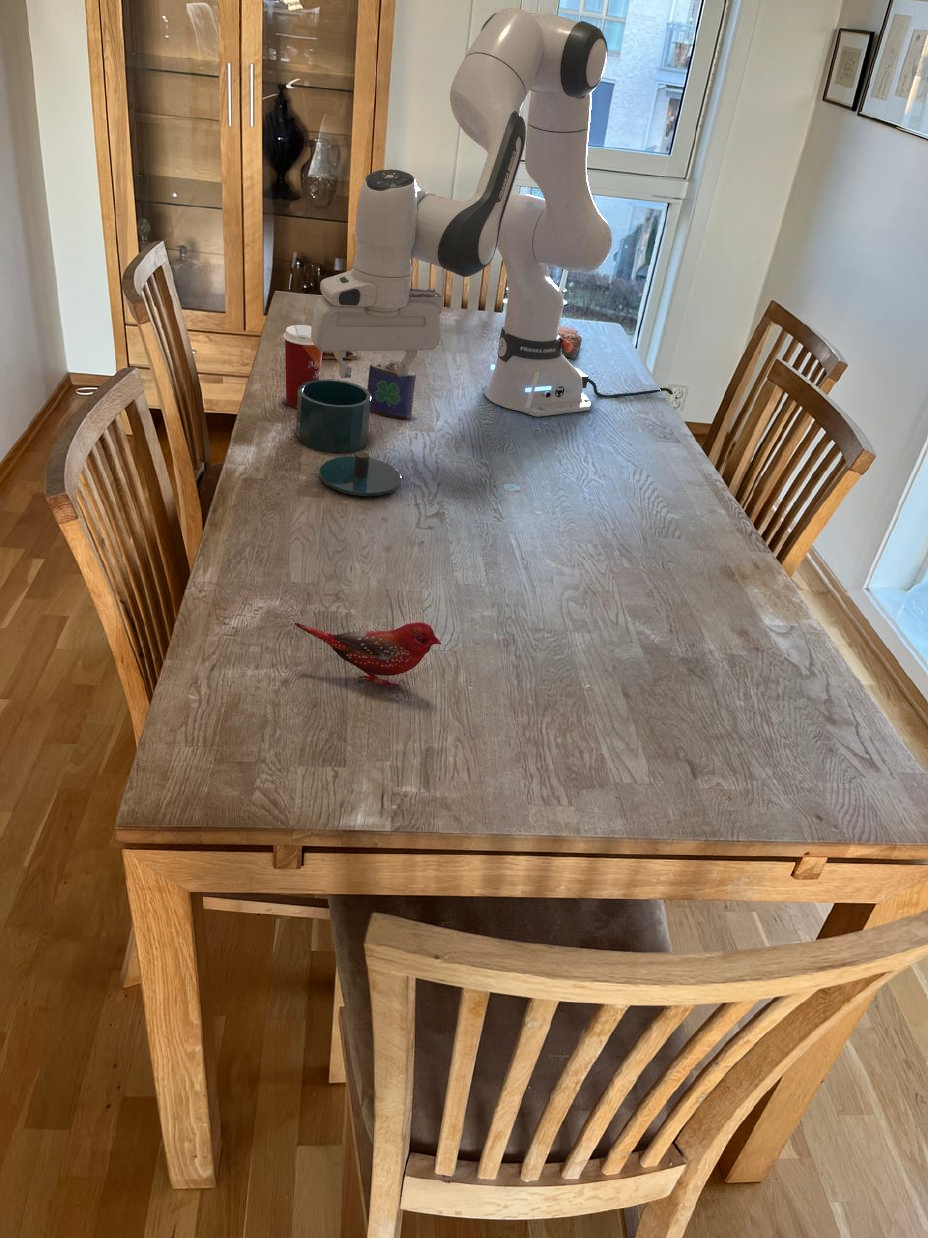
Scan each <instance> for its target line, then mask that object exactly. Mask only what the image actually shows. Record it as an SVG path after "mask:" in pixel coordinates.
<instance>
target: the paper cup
mask: <svg viewBox="0 0 928 1238" xmlns="http://www.w3.org/2000/svg"><path fill="white" fill-rule="evenodd" d="M311 328H312V325H306V324H293V325H289V326H287V327H286V329H285V332H284V333H283V339H284V351H285V352H284V360H285V362H284V363H285V367H284V368H285V369H284V370H285V400H286V401H285V402H286V404H287V405H288V406H289V407H292V408H294V409H297V400H298V389H299V387H300V385H302V384H304V383H306V382H308V381H313V380H320V374H321V367H322V360H323V359H322V351H320V350H319V349H318V348H317V347H316V346H315V345H314V343H313V342H312V339H311Z"/></svg>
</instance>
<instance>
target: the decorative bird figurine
mask: <svg viewBox="0 0 928 1238" xmlns="http://www.w3.org/2000/svg"><path fill="white" fill-rule="evenodd" d="M293 624H294V626H296V627H298V628H299V629H301V630H302V631H304V632H306V633H308V634H310V635H311V636H314V637H315V638H317V639H319V640H320V641H323V642H324V643H325V644H326V645H328V646H329V647H330V648H331V649H332V650H333V651H334V653H336V654H337V656H339V657H340V659H342V660H344V662H345V661H346V662H347V663H349V664H351V665H352V666H354V667H356V668H357V669H359V670H361V671H362V672H363V673H364V674H366V675H362V676H359V677H358V679H364V680H365V681H366V682H370V683H371V682H372V683H374V684H378V685H380V686H383V687H387V686H393V687H395V686H396V687H402V686H401V685H400V684H398V683H391V682H390V681H389V680H387V679H383V678H381V677H379V676H382V677H392V676H397V675H398V676H399V675H401V674H405V673H407V672H409V671H411V670H413V669H414V668H415V667H417V665H419V664H420V662H421V661H422V660H423V658H424V657H425V656H426V654H428V653H429V652H430V650H431V649H432V646H433V645H442V642H441V641H440V640H439V638H438V637H437V636H436V635H435V631H434V630H433V628H432V627H431V626H430V625H429V624H428V623H426V622H412V623H406V624H403V625H402V626H399V627H397V628H395V629H389V630H388V629H387V630H358V631H357V630H356V631H350V632H349V631H348V632H342V633H339V634H333V633H329V632H327V631H323V630H320V629H318V628H314V627H311V626H309V625H305V624H302V623H299V622H295V623H293Z"/></svg>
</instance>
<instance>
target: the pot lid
mask: <svg viewBox="0 0 928 1238" xmlns="http://www.w3.org/2000/svg"><path fill="white" fill-rule="evenodd" d="M319 478H320V480H321V481H322V482H323V484H325V485H326V486H327V487H329V488H331V489H333V490H335V491H337V492H341V493H343V494H347V495H350V496H351V495H353V496H357V497H358V496H359V497H378V496H384V495H387V494H390V493H392V492H395V491H396V490H398V489H399V488H400V486H401V484H402V481H403V480H402V479H403V477H402V475H401V473H400V471H399V470H398V469H397V468H396V467H394V466H393V465H391V464H390V463H387V462H386V461H382V460H379V459H375V458H372V457H371V454H370V453H368V452H366V451H357V452H355V454H354V455H353V456H340V457H335V458H332V459H329V460H327V461H326V462H324V463H323V464H321V466H320V468H319Z"/></svg>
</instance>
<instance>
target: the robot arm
mask: <svg viewBox="0 0 928 1238" xmlns="http://www.w3.org/2000/svg"><path fill="white" fill-rule="evenodd" d="M608 48H609V47H608V43H607V39H606V37H605V35H604V33H603V31H602V30H601V28H599V27H598V26H596V25H594V24H592V23H589V22H587V21H584V20H580V21H577V20H575V19H571V18H568V17H565V16H562V15H557V14H551V13H535V12H527V11H526V10H524V9H521V8H518V7H517V8H516V7H505V8H503V9H501V10H499V11H497V12H494V13H493V14H492V15H491V16H490V17H489V18H488V19H486V21H485V22H484V24H483V25H482V27H481V29H480V32H479V34H478V35H477V37H476V38H475V39H474V41H473V43H472V44H471V46H470V47H469V49H468V51H467V52H466V54H465V56H464V58H463V60H462V62H461V64H460V65H459V67H458V69H457V71H456V73H455V74H454V77H453V80H452V83H451V86H450V91H449V103H450V107H451V108H450V109H451V112H452V114H453V116H454V118H455V120H456V122H457V124H458V125H459V127H460V128H461V129H462V131H463V132H464V133H465V134H466V136H468V138H470V139H471V140H472V141H474V142H475V143H477V145H479V146H480V147H481V148H482V149H484V151H486V152H487V156H486V159H485V162H484V164H483V168H482V171H481V175H480V177H479V180H478V183H477V187H476V188H475V189H476V190H475V191H474V195H473V196H472V198H470V199H468V200H465V201H459V200H454V199H452V198H448V197H445V196H440V195H437V194H435V193H431V192H429V191H426V190H424V189H422V188H421V187H419V186H418V185H417V182H416V178H415V177H414V176H413V175H412V174H411V173H409V172H406V171H403V170H400V169H378V170H375V171H373V172H370V173H368V174H367V175H366V176H365V177H364V178H363V181H362V184H361V187H360V191H359V196H358V201H357V206H356V207H357V208H356V214H355V225H354V226H355V227H354V239H355V244H356V251H355V256H354V258H353V260H352V268H351V269H350V270H348V271H344V272H341V273H338V274H336V275H331V276H329V277H325V278H323V279H321V281H320V283H319V289H320V293H321V294H322V296H321V297H319V298H318V300H317V301H316V302H315V306H314V309H313V315H312V321H311V326H312V328H311V339H312V342H313V343H314V345H315V346H316V347H317V348H318V349H319V350H320V351H333V353H334V355H335V357H336V359H335V360H336V361H337V363H338V366H339V367H338V374H339V377H340V378H341V379H348V378H349V379H350V378H351V377H352V371H353V369H352V368H353V367H352V366H351V365H350V364H349V363H345V361H344V359H342V357H346V351H355V352H383V351H384V352H385V351H387V352H389V351H390V352H391V351H392V352H393V351H403V352H404V354H405V355H404V357H403V358H402V360H401V361H400V362H398V363H396V374H397V375H398V377H402V376H407V375H408V371H409V368H410V367H411V365H412V363H413V362H414V361H415V359H416V358H417V354H418V351H434V350H436V348H437V347H438V346H439V345H440V342H441V341H440V340H441V317H440V316H441V315H442V312H443V305H444V299H443V295H441V293H440V292H438V291H436V289H434V288H426V289H425V288H411V283H412V273H413V267H412V260H411V259H412V258H413V259H415V260H417V261H420V262H423V263H427V264H431V265H433V266H436V267H440V268H442V269H444V270H445V271H448V272H451V273H453V274H455V275H458V276H460V277H463V278H469V277H471V276H473V275H475V274H477V273H479V272H481V271H483V270H484V269H486V268H487V267H488V266H489V265H490V263H491V262H492V260H493V259H494V256H495V253H496V250H497V252H498V254H499V255H500V257H501V260H502V262H503V265H504V269H505V273H506V280H507V301H506V309H505V317H504V322H503V326H501V328H500V329H501V330H500V335H499V338H498V339H499V340H498V345H497V359H496V361H495V364H490V370H492V371H493V372H492V374H491V378H490V380H489V383H488V385H487V387H486V389H485V391H484V395H485V397H486V398H487V399H488V400H489V401H490V402H492V403H494V404H496V405H498V406H500V407H502V408H505V409H509V410H511V411H512V410H513V411H516V412H522V413H524V414H527V415H530V416H532V417H545V416H546V417H547V416H554V415H562V414H570V413H578V412H587V411H590V410H591V405H592V403H591V401H590V399H589V398H588V396H586V395H585V394H584V393H583V389H587V385H588V383H589V384H590V385H591V386H592V388H593V393H594V395H595V396H597V397H599V398H609V399H610V398H611V399H612V398H616V399H617V398H623V397H634V396H641V395H649V394H655V393H660V392H667V393H668V394H669V395H674V393H673V391H672V390H671V389H670V388H668V387H659V388H660V389H661V391H660V390H654V389H648V390H640V391H633V392H632V391H631V392H621V393H613V394H604V393H600V392H599V391H598V388H597V384H596V383H595V382H594V380H592V379H590V378H589V375H587V374H585V373H584V372H583V371H581V370H580V369H579V368H576V367H575V366H574V365H573V364H572V363H571V362H570V361H569V360H568V359H567V357H565V356H563V355H562V349H564V350H565V351H566V352H570V351H571V350H572V348H573V344H572V343H571V342H569V341H568V340H564V339H563V338H561V337H560V336H559V335H558V331H559V326H561V320H562V316H563V310H564V305H565V300H564V295H563V292H562V291H561V289H560V287H559V286H558V285H557V284H556V283H555V282H554V281H553V279H552V278H551V275H550V272H549V269H548V265H549V266H552V267H555V268H558V269H562V270H564V271H567V272H575V273H593V272H595V271H597V270H598V269H600V268H601V267H602V266H603V264H604V263H605V262H606V261H607V259H608V257H609V255H610V253H611V250H612V243H613V235H612V231H611V227H610V225H609V223H608V222H607V220H606V219H605V218H604V217H603V215H602V214H601V213H600V211H599V209H598V208H597V205H596V203H595V201H594V199H593V196H592V193H591V189H590V185H589V180H588V175H587V157H588V145H589V144H588V143H589V133H590V123H591V110H592V92H593V91H594V90H595V89H596V88H598V86H599V85H600V83H601V81H602V79H603V77H604V74H605V71H606V68H607V62H608V55H609V54H608V53H609V52H608V51H609V50H608ZM529 91H530V97H529V104H528V113H527V122H525V119H524V118H523V116H522V115H521V110H522V106H523V104H524V102H525V100H526V98H527V96H528V94H529ZM526 123H527V124H526ZM524 150H525V152H524ZM523 153H524V154H523ZM523 155H524V167H525V170H526V172H527V175H528V176H529V178H530V179H531V180H532V181H533V182H534V184H536V186H538V188H539V190H540V191H541V193H542V196H543V198H541V197H538V196H535V195H532V194H527V193H512V190H513V187H514V184H515V181H516V177H517V173H518V171H519V167H520V164H521V161H522V157H523ZM563 340H564V341H563Z"/></svg>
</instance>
